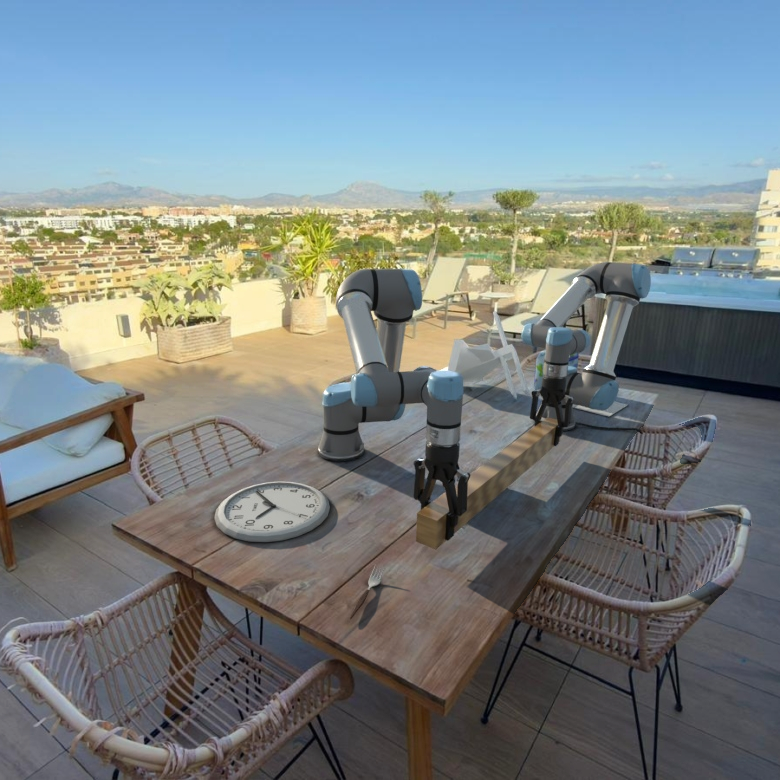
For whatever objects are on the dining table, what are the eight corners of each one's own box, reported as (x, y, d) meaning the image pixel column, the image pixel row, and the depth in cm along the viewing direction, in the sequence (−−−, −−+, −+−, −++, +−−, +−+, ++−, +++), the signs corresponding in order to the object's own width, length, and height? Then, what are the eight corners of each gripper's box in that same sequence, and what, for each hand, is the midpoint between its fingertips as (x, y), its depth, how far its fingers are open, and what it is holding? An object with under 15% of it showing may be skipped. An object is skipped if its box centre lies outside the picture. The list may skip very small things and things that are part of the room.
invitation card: (608, 416, 214) (573, 407, 224) (608, 416, 214) (573, 408, 224) (628, 404, 229) (594, 396, 238) (628, 405, 229) (594, 397, 238)
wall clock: (328, 534, 126) (200, 538, 124) (328, 540, 127) (201, 544, 124) (331, 477, 155) (227, 479, 152) (331, 482, 155) (227, 484, 153)
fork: (344, 619, 101) (343, 610, 101) (374, 571, 116) (374, 563, 115) (356, 623, 100) (356, 614, 100) (385, 574, 115) (385, 566, 114)
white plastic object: (461, 429, 252) (437, 405, 227) (444, 352, 274) (420, 323, 250) (535, 404, 240) (518, 377, 215) (510, 326, 262) (492, 293, 237)
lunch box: (550, 398, 235) (555, 353, 229) (529, 393, 243) (534, 349, 236) (577, 387, 253) (583, 345, 247) (557, 382, 260) (562, 341, 254)
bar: (544, 437, 181) (547, 417, 179) (560, 441, 178) (562, 420, 176) (415, 541, 120) (416, 512, 118) (435, 550, 117) (437, 520, 114)
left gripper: (398, 436, 118) (396, 526, 125) (471, 458, 107) (465, 555, 114) (417, 426, 123) (414, 513, 130) (488, 446, 113) (481, 539, 120)
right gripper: (523, 373, 171) (516, 439, 178) (579, 383, 160) (570, 453, 167) (531, 368, 176) (525, 432, 183) (587, 378, 166) (578, 445, 173)
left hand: (438, 532), depth 122 cm, fingers closed on bar, 5 cm apart
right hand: (547, 442), depth 175 cm, fingers closed on bar, 5 cm apart
